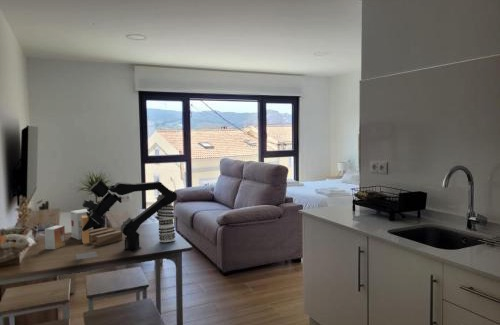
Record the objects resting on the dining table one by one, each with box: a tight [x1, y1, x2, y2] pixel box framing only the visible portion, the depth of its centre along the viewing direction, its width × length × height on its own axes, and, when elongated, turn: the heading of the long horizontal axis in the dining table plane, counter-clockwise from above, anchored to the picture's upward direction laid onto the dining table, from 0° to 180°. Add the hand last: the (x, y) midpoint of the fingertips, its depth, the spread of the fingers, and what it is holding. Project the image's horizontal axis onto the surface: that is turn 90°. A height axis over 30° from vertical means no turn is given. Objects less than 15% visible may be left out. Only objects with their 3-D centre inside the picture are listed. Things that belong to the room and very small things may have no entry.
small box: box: [44, 224, 66, 250], centre depth 192 cm, size 8×6×10 cm
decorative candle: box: [156, 193, 176, 243], centre depth 201 cm, size 9×9×25 cm
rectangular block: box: [81, 215, 89, 245], centre depth 177 cm, size 2×6×12 cm, turn 28°
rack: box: [81, 227, 123, 247], centre depth 203 cm, size 16×14×5 cm
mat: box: [75, 251, 99, 261], centre depth 178 cm, size 9×9×1 cm
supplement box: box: [70, 208, 94, 241], centre depth 211 cm, size 9×9×15 cm
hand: (81, 229), depth 176 cm, fingers closed on rectangular block, 6 cm apart
